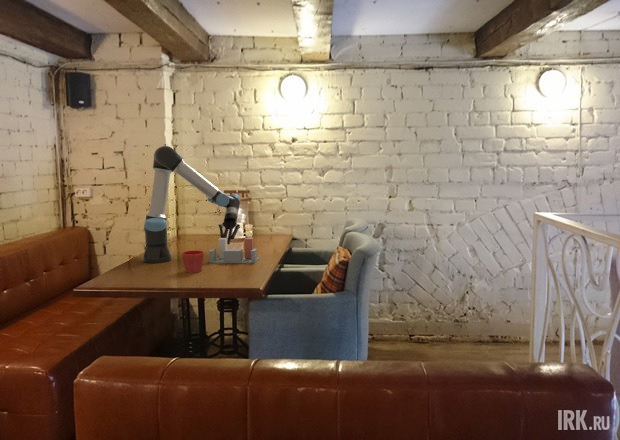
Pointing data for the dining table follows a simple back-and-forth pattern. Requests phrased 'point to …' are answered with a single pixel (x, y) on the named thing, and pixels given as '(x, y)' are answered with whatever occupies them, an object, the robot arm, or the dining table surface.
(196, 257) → the flower pot
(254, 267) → the dining table surface
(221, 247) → the cream plug
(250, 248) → the red plug
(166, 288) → the dining table surface
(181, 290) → the dining table surface
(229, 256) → the slot block
